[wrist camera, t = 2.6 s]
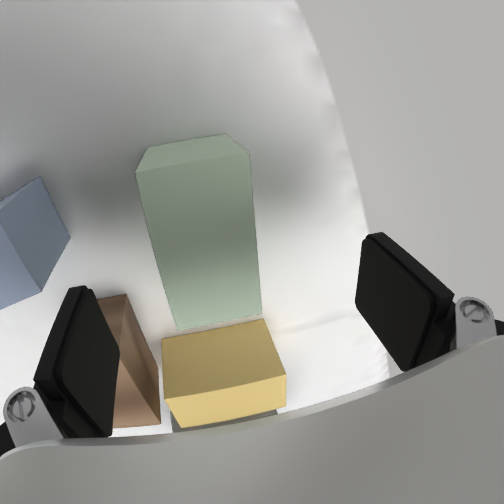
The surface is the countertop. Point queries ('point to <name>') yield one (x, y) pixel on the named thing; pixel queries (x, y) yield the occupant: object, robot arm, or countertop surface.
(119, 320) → the walnut brick
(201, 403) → the ochre brick
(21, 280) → the slate brick
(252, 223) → the sage brick
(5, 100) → the countertop surface
